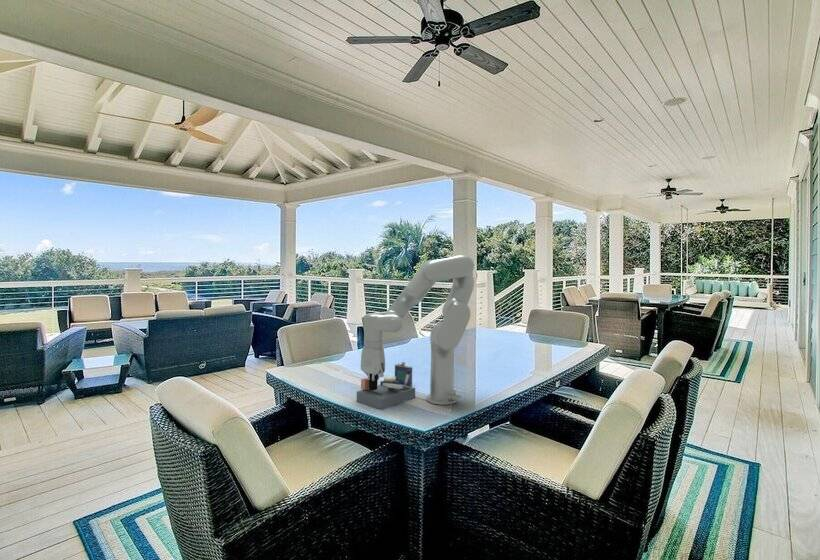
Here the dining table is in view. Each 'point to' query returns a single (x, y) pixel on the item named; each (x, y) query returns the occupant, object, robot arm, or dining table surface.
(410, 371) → the toggle lever
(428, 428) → the dining table surface
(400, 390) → the grey low block
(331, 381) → the dining table surface
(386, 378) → the push button
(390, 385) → the rocker
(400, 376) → the flask
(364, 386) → the slider knob
